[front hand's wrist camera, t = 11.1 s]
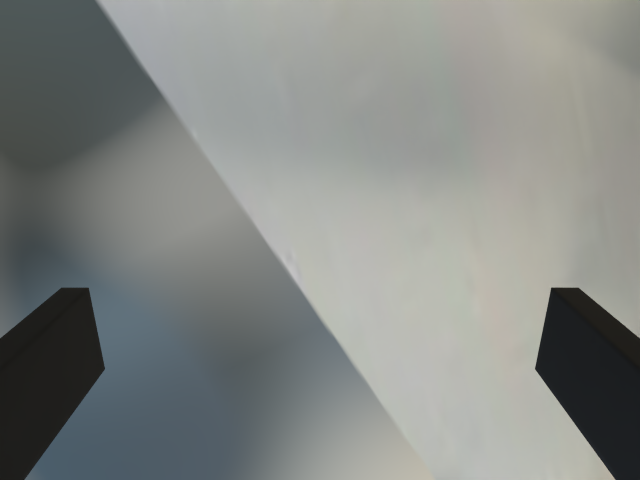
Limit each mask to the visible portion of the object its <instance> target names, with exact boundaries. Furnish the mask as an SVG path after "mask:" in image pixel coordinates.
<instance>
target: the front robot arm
mask: <svg viewBox="0 0 640 480" xmlns="http://www.w3.org/2000/svg"><path fill="white" fill-rule="evenodd" d="M104 369H105V367H104V362H103V357H102V352H101V347H100V342H99V337H98V332H97V327H96V322H95V317H94V312H93V307H92V302H91V297H90V292H89V288H61V289H59V290H58V291H57V292H56V293H55V294H53V295H52V296H51V297H50V298H49V299H47V300H46V301H45V302H44V303H43V304H41V305H40V306H39V307H38V308H37V309H35V310H34V311H33V312H32V313H31V314H29V315H28V316H27V317H26V318H24V319H23V320H22V321H21V322H20V323H18V324H17V325H16V326H15V327H14V328H12V329H11V330H10V331H9V332H8V333H6V334H5V335H4V336H3V337H1V338H0V480H24V479H25V478H26V477H27V475H28V474H29V473H30V471H31V470H32V468H33V467H34V466H35V464H36V463H37V462H38V460H39V459H40V458H41V456H42V455H43V453H44V452H45V451H46V449H47V448H48V447H49V445H50V444H51V442H52V441H53V440H54V438H55V437H56V436H57V434H58V433H59V431H60V430H61V429H62V427H63V426H64V425H65V423H66V422H67V420H68V419H69V418H70V416H71V415H72V414H73V412H74V411H75V409H76V408H77V407H78V405H79V404H80V403H81V401H82V400H83V398H84V397H85V396H86V394H87V393H88V392H89V390H90V389H91V387H92V386H93V385H94V383H95V382H96V381H97V379H98V378H99V376H100V375H101V374H102V372H103V371H104ZM535 370H536V371H537V372H538V374H539V375H540V376H541V378H542V379H543V381H544V382H545V383H546V385H547V386H548V387H549V389H550V390H551V392H552V393H553V394H554V396H555V397H556V398H557V400H558V401H559V403H560V404H561V405H562V407H563V408H564V409H565V411H566V412H567V414H568V415H569V416H570V418H571V419H572V420H573V422H574V423H575V425H576V426H577V427H578V429H579V430H580V431H581V433H582V434H583V436H584V437H585V438H586V440H587V441H588V442H589V444H590V445H591V447H592V448H593V449H594V451H595V452H596V453H597V455H598V456H599V458H600V459H601V460H602V462H603V463H604V464H605V466H606V467H607V468H608V470H609V471H610V473H611V474H612V475H613V477H614V478H615V479H616V480H640V338H639V337H637V336H636V335H635V334H634V333H632V332H631V331H630V330H629V329H628V328H626V327H625V326H624V325H623V324H622V323H620V322H619V321H618V320H617V319H616V318H614V317H613V316H612V315H611V314H610V313H608V312H607V311H606V310H605V309H603V308H602V307H601V306H600V305H599V304H597V303H596V302H595V301H594V300H593V299H591V298H590V297H589V296H588V295H587V294H585V293H584V292H583V291H582V290H581V289H579V288H551V292H550V297H549V302H548V307H547V312H546V317H545V322H544V327H543V332H542V337H541V342H540V347H539V352H538V357H537V362H536V367H535Z"/></svg>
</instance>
